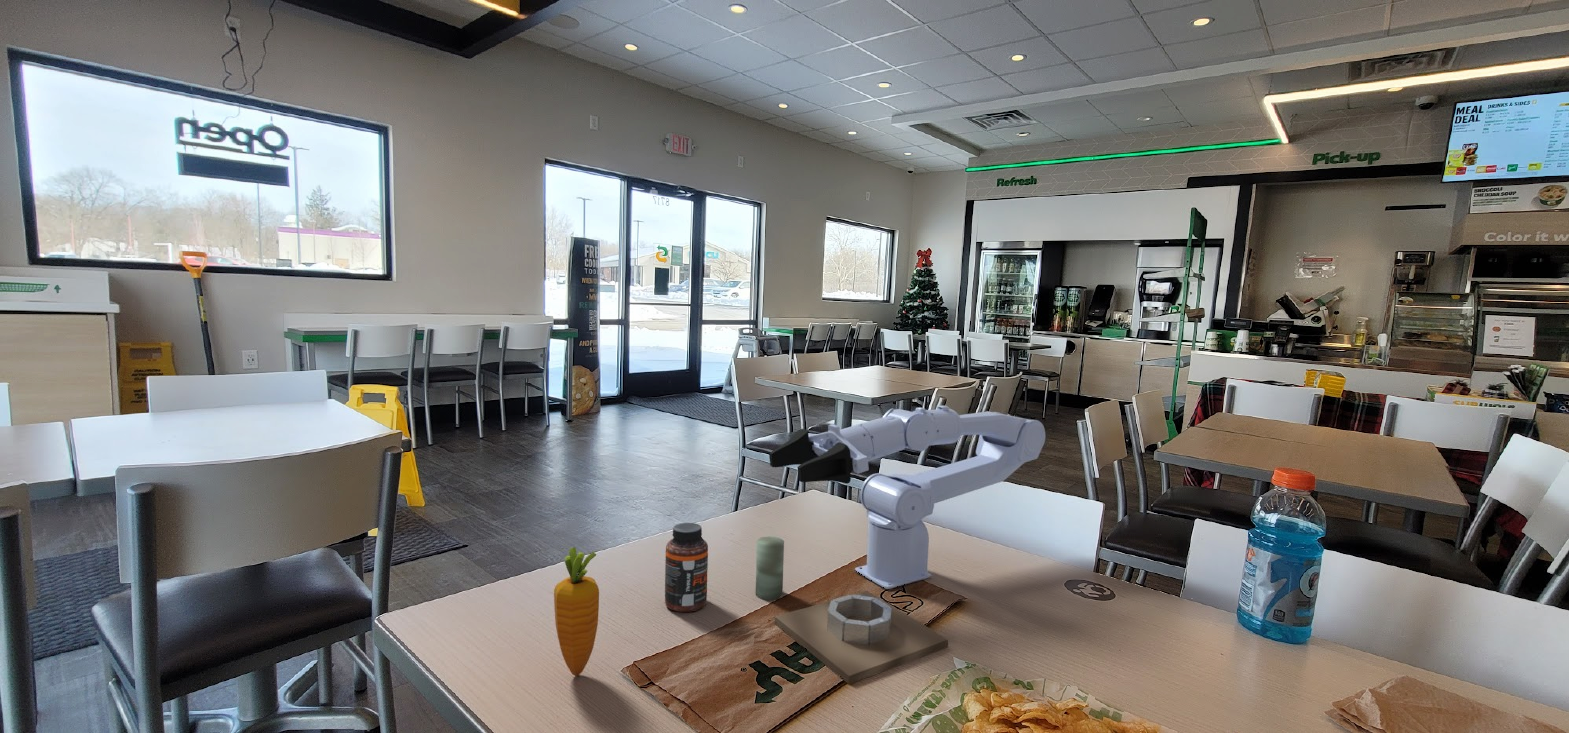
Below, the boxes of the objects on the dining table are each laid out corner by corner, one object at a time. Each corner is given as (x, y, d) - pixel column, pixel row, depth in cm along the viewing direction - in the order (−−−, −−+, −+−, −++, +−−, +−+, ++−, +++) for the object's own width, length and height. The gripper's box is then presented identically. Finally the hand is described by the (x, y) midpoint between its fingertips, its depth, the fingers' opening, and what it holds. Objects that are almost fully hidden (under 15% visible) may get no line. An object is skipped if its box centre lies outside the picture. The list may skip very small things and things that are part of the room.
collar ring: (863, 608, 91) (863, 590, 90) (903, 633, 84) (903, 615, 84) (816, 622, 86) (817, 604, 86) (854, 650, 80) (855, 630, 79)
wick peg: (773, 585, 99) (774, 534, 98) (787, 596, 96) (789, 543, 95) (750, 591, 97) (751, 539, 96) (764, 602, 94) (765, 548, 93)
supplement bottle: (699, 616, 89) (700, 536, 88) (658, 611, 90) (658, 532, 89) (712, 597, 95) (713, 521, 94) (673, 592, 96) (674, 518, 95)
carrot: (560, 664, 77) (559, 540, 75) (603, 663, 77) (603, 540, 75) (548, 689, 72) (547, 558, 70) (594, 688, 72) (594, 557, 71)
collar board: (866, 596, 96) (866, 590, 96) (947, 647, 83) (948, 639, 83) (774, 623, 88) (774, 616, 87) (848, 684, 74) (849, 676, 74)
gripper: (831, 408, 103) (756, 428, 97) (891, 428, 91) (810, 452, 84) (834, 450, 105) (761, 473, 98) (894, 475, 93) (815, 503, 86)
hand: (784, 467), depth 91 cm, fingers open, 7 cm apart
